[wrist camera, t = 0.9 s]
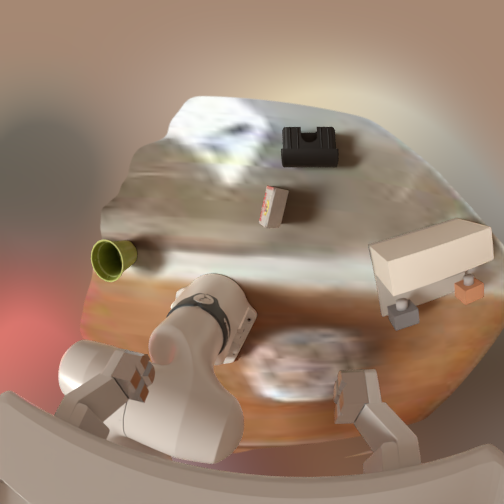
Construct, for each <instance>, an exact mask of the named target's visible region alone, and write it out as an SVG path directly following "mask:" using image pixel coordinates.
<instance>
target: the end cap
mask: <svg viewBox="0 0 504 504" xmlns="http://www.w3.org/2000/svg"><path fill="white" fill-rule="evenodd" d="M282 136H283V149H281V156H282V165H283V167H337V165H338V149H336V142H335V130H334V128H333V127H317V132H316V133H301V127H284V128H283V130H282Z"/></svg>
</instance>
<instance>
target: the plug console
mask: <svg viewBox="0 0 504 504" xmlns="http://www.w3.org/2000/svg"><path fill="white" fill-rule="evenodd" d="M368 247H369V251H370V256H371V261H372V265H373V270H374V276H375V281H376V286H377V292H378V298H379V304H380V310H381V315H382V316H383V317H384V316H387V315H388V308H387V306H390V305H393V304H396V300H397V299H399V298H407V300H409V299H410V300H411V301H412V302H413V304H414V305H415V306H418V305H420V304H423V303H426V302H429V301H432V300H434V299H437V298H440V297H442V296H445V295H448V294H450V293H453V292H455V288H454V283H456V282H458V281H461V280H463V276H464V275H465V271H466V270H469V269H471V268H474V267H476V266H479V265H481V264H484V263H486V262H489V261H491V260H493V259H494V255H493V241H492V231H491V227H489V226H485V225H482V224H478V223H474V222H470V221H466V220H462V219H458V218H454V219H451V220H447V221H444V222H441V223H438V224H435V225H431V226H428V227H425V228H422V229H418V230H415V231H412V232H408V233H405V234H402V235H398V236H395V237H392V238H388V239H385V240H382V241H378V242H375V243H371V244H368Z"/></svg>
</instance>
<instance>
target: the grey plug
mask: <svg viewBox="0 0 504 504" xmlns="http://www.w3.org/2000/svg"><path fill="white" fill-rule="evenodd" d="M387 308H388V316H389V320H390V322H391V324H392V325H393V327H394V329H395V330H396V331H397V330H400V329H403V328H406V327H409V326H412V325H415V324H418V323H419V311H418V308H417V307H416V306H415V305H414V304H413V302H412V301H411V300H410V299H409V300H407V298H399V299H397V300H396V304H393V305H390V306H387Z"/></svg>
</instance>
